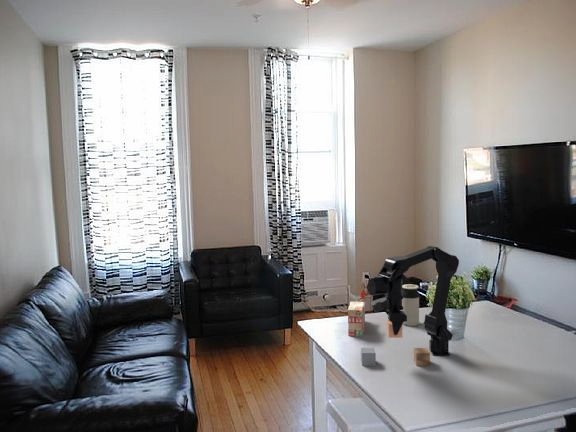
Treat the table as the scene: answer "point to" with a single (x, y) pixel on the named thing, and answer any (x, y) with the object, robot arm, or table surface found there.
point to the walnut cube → (421, 357)
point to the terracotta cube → (390, 331)
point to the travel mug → (411, 304)
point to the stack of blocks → (356, 319)
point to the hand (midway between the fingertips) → (394, 332)
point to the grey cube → (368, 357)
